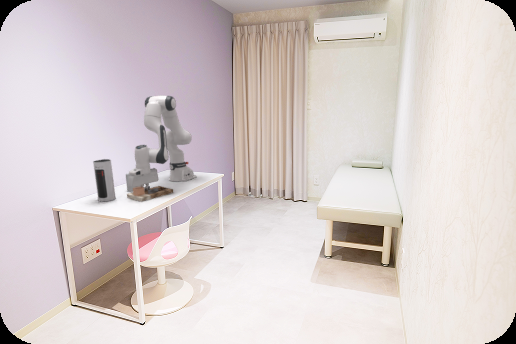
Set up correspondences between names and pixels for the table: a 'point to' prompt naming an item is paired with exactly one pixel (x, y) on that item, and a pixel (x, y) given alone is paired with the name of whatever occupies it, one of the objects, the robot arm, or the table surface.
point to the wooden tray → (151, 193)
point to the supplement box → (128, 184)
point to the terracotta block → (138, 191)
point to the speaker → (104, 180)
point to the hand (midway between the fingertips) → (145, 190)
